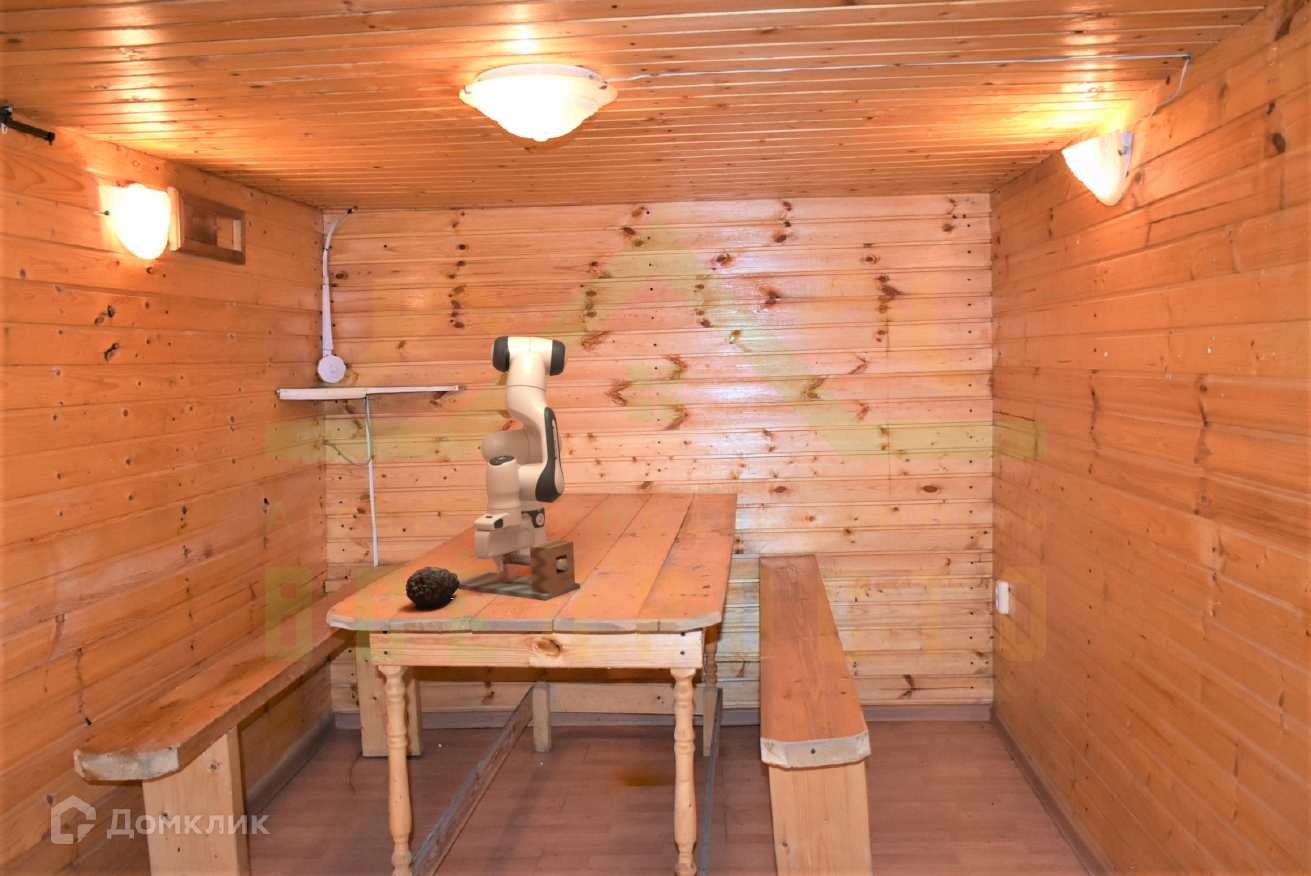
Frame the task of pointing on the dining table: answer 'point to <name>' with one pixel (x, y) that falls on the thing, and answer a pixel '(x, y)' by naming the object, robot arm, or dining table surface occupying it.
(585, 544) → the dining table surface
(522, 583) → the eye post
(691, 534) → the dining table surface
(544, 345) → the robot arm
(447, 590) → the pine cone
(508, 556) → the hook rod
